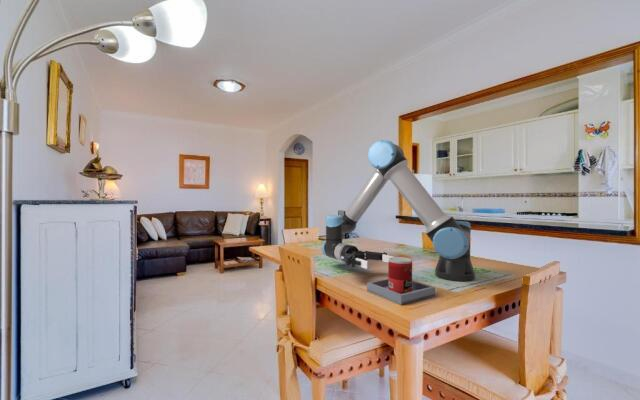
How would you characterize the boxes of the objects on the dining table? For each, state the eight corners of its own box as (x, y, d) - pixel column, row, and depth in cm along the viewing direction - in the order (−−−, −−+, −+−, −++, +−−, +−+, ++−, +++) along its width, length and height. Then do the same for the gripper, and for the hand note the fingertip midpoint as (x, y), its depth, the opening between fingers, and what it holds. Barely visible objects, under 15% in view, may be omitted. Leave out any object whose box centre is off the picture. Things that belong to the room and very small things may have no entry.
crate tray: (399, 284, 116) (399, 276, 116) (435, 296, 102) (435, 287, 102) (367, 291, 107) (367, 282, 107) (401, 305, 94) (401, 295, 94)
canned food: (408, 296, 100) (408, 262, 99) (385, 292, 104) (385, 260, 104) (414, 290, 106) (414, 258, 106) (392, 286, 110) (392, 256, 110)
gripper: (369, 258, 137) (405, 268, 119) (322, 265, 124) (355, 277, 106) (369, 242, 137) (405, 249, 119) (322, 247, 124) (355, 256, 106)
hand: (381, 262), depth 112 cm, fingers open, 13 cm apart
